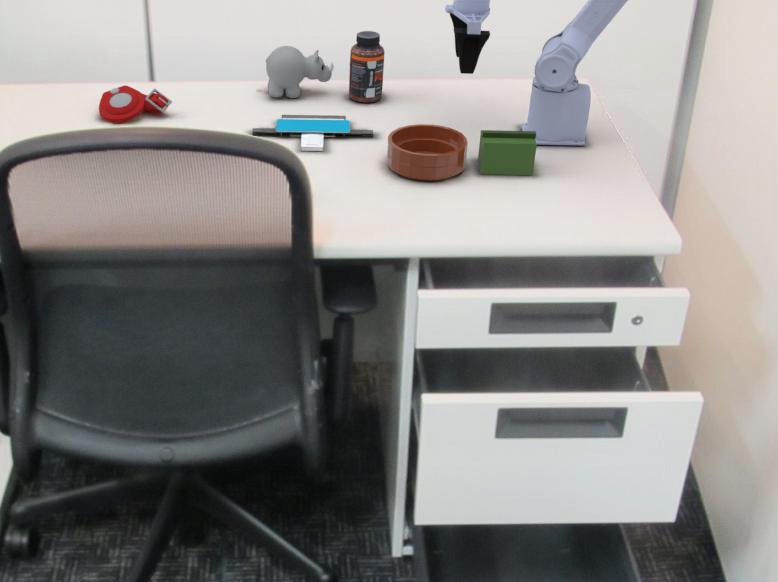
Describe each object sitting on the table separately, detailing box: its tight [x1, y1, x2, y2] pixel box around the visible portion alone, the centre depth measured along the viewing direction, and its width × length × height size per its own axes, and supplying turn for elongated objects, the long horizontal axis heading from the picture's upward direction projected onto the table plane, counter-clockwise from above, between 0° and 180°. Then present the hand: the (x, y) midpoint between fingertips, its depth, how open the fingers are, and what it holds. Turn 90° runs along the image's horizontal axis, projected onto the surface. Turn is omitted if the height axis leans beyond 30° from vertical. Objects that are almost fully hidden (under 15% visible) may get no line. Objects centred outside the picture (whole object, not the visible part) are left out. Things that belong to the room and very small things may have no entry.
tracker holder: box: [98, 84, 173, 124], centre depth 192 cm, size 12×4×10 cm
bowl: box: [386, 123, 468, 182], centre depth 174 cm, size 12×12×4 cm
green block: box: [477, 129, 538, 176], centre depth 173 cm, size 8×5×6 cm, turn 88°
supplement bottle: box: [348, 30, 385, 103], centre depth 196 cm, size 6×6×11 cm
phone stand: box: [251, 114, 374, 152], centre depth 184 cm, size 20×12×2 cm, turn 89°
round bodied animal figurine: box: [265, 45, 335, 99], centre depth 198 cm, size 7×12×8 cm, turn 92°
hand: (464, 64), depth 183 cm, fingers open, 7 cm apart
